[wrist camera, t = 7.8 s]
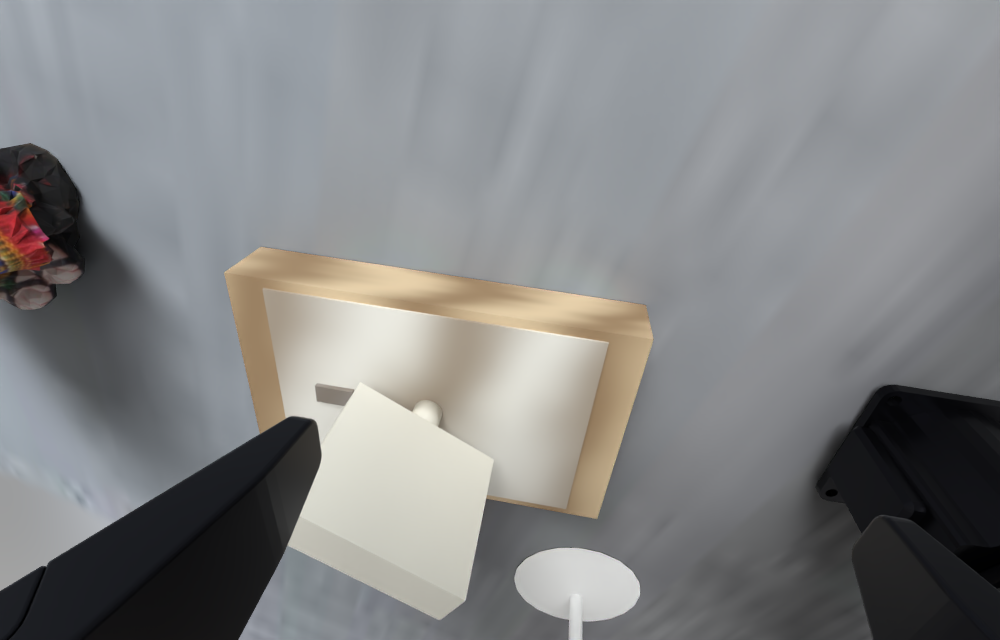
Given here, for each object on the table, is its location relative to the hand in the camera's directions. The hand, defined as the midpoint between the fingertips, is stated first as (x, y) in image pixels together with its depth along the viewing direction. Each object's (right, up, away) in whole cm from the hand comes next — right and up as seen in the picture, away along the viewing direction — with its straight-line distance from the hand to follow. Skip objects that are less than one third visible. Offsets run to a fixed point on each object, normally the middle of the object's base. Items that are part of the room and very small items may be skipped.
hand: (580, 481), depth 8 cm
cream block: (-5, -3, +13) cm, 15 cm away
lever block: (-4, 0, +15) cm, 15 cm away
